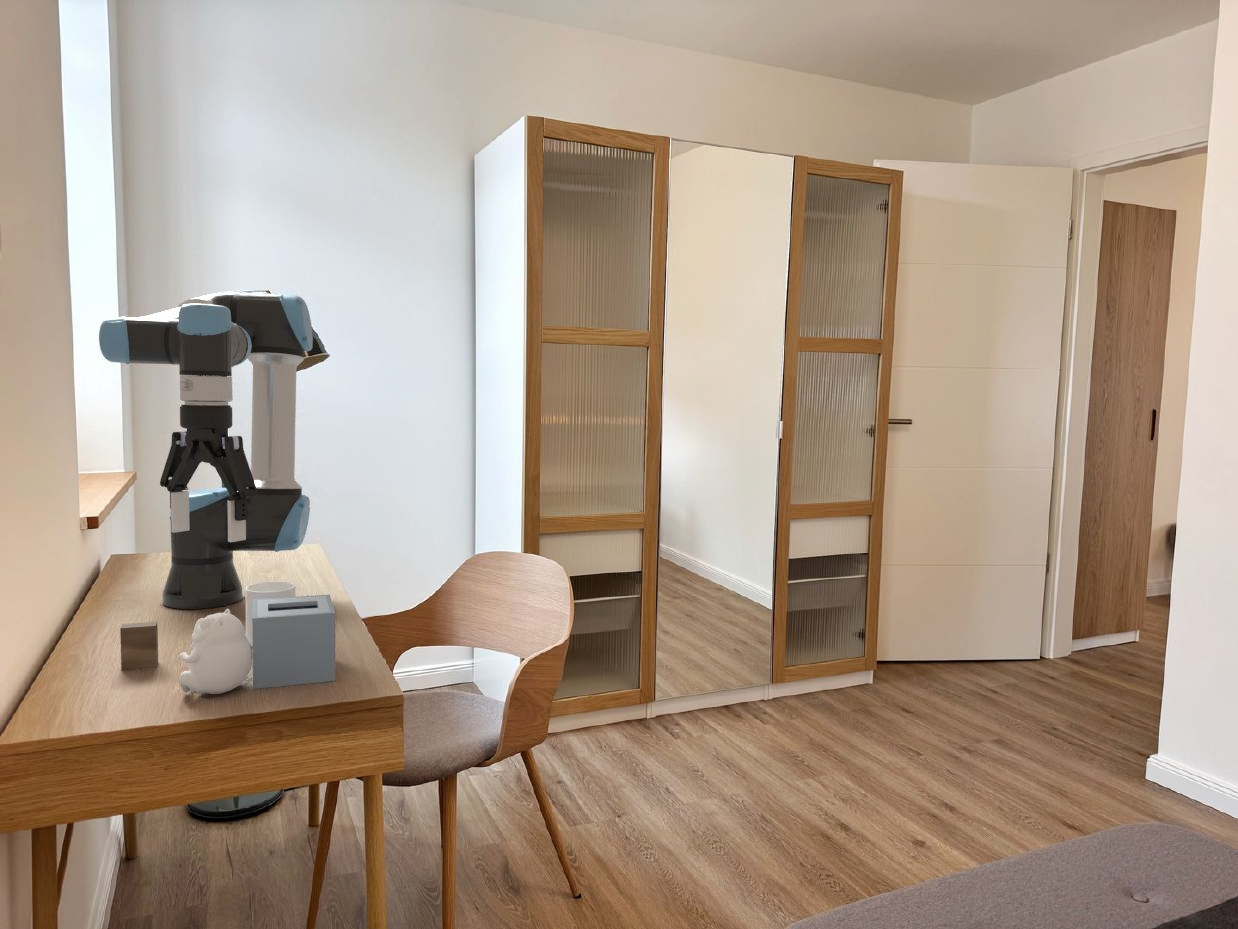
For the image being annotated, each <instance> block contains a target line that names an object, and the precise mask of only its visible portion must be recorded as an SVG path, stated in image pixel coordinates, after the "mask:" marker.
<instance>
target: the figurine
mask: <svg viewBox="0 0 1238 929" xmlns="http://www.w3.org/2000/svg"><path fill="white" fill-rule="evenodd" d="M191 641H192V643H191V644H190V646H189V648H191V652H190V655H189V654H188V652H186V651H183V652H181V653H180V654H179V655H178V656H177V660H182V661H183V662H185V663H187V664H188V666H189V667H188V668H189V669H188V670H184V671H182V672H181V673H180V675H179V678H178V680H179V685H180V688H181V689H182V691H183V692H184V693H189V692H190V691H193V692H194V693H197V694H203V693H204V694H209V695H220V694H224V693H227V692H230V691H232V690H234V689H235V688H237V687H239V686H245V685H248V684H250V683H251V682H252V681H253V676H250V675H249V673H250V671H251V668H252V666H253V648H252V647H251V645H250V643H249V641H248V640H247V638H246V632H245V628H244V625H243V623H242V621H241V620H240V618H238V617H236V616H235V615H234V614H232V613H231V609H230V608H226V609H225V610H224V612H215V613H214V614H208V615H206V616H205V617H201V618H198V620H197V621H196V622H195V625H194V629H193V631H192V634H191ZM247 678H248V679H247Z"/></svg>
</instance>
